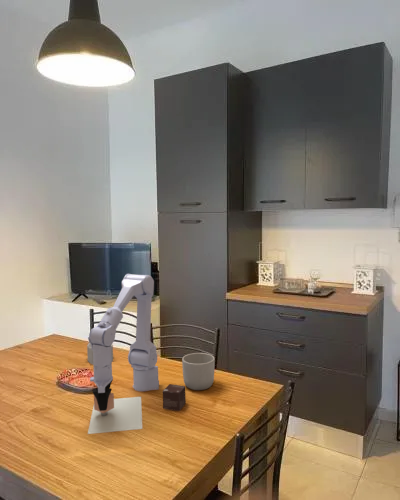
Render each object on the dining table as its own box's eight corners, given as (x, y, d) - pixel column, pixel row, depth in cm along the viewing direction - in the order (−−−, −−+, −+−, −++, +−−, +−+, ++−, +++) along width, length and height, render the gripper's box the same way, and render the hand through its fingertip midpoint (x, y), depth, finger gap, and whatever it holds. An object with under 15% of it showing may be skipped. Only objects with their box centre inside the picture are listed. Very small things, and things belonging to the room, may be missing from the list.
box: (186, 406, 138) (185, 385, 137) (179, 414, 132) (179, 393, 131) (169, 404, 140) (169, 383, 139) (162, 412, 134) (162, 390, 133)
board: (141, 399, 143) (140, 387, 142) (142, 432, 121) (142, 417, 121) (94, 403, 140) (94, 390, 140) (87, 437, 119) (87, 422, 118)
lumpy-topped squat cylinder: (92, 366, 176) (92, 346, 175) (84, 357, 187) (83, 339, 186) (115, 361, 182) (115, 342, 181) (105, 353, 192) (105, 335, 192)
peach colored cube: (104, 404, 133) (104, 390, 132) (114, 407, 130) (113, 393, 130) (94, 409, 129) (93, 395, 129) (103, 413, 127) (103, 398, 126)
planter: (178, 390, 150) (177, 362, 149) (188, 378, 162) (187, 351, 161) (210, 394, 147) (210, 365, 146) (218, 381, 159) (217, 354, 158)
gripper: (92, 357, 135) (93, 396, 136) (87, 373, 121) (88, 417, 122) (113, 355, 136) (114, 394, 137) (111, 371, 122) (112, 415, 123)
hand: (103, 405), depth 130 cm, fingers closed on peach colored cube, 6 cm apart
